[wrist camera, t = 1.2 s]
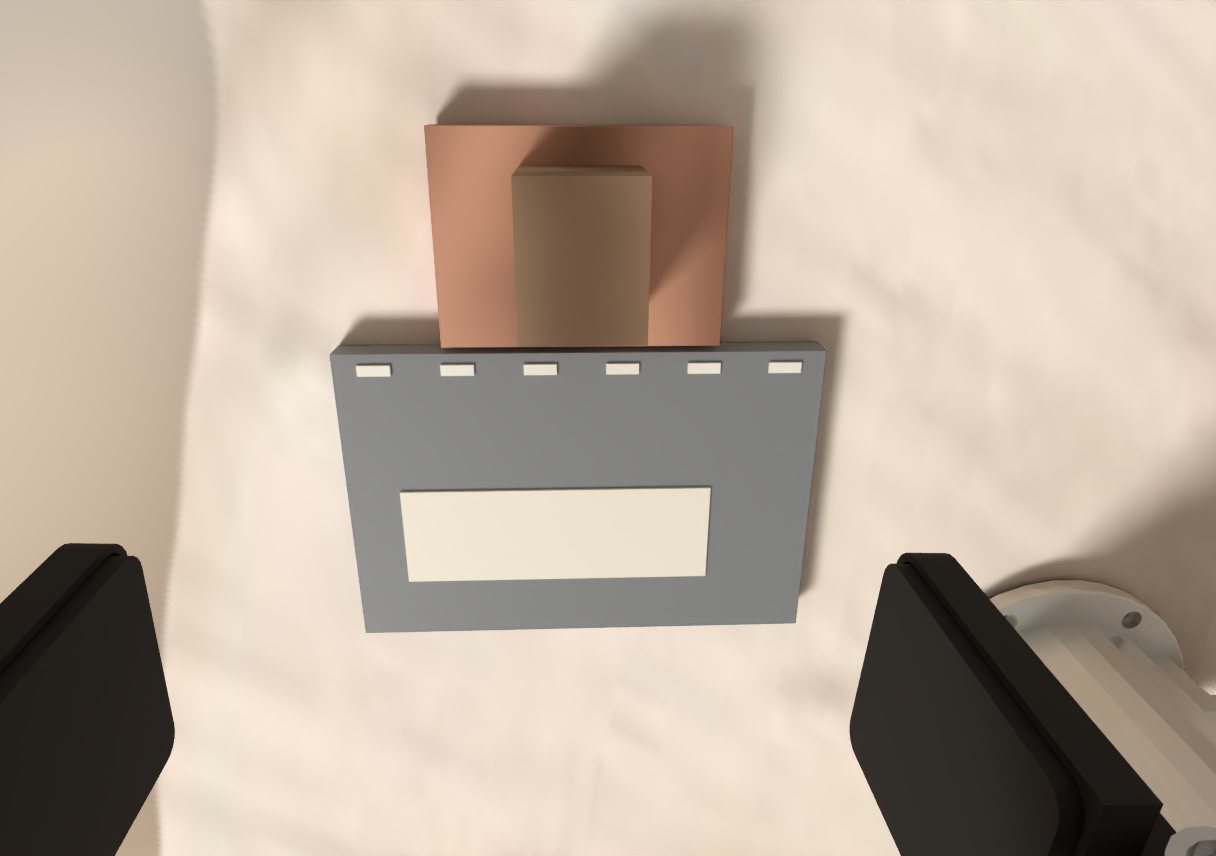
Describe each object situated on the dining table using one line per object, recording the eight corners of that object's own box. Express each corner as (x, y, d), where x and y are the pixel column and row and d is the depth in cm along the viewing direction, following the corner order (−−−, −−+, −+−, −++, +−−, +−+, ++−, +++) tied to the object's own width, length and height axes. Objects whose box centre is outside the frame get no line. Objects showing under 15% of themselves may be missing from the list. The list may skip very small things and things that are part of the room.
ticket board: (816, 341, 31) (827, 351, 29) (788, 606, 35) (796, 624, 34) (338, 345, 30) (328, 355, 29) (372, 615, 34) (365, 634, 33)
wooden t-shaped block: (726, 126, 27) (759, 131, 23) (714, 336, 30) (741, 381, 25) (430, 124, 27) (399, 130, 22) (445, 338, 30) (421, 384, 25)
